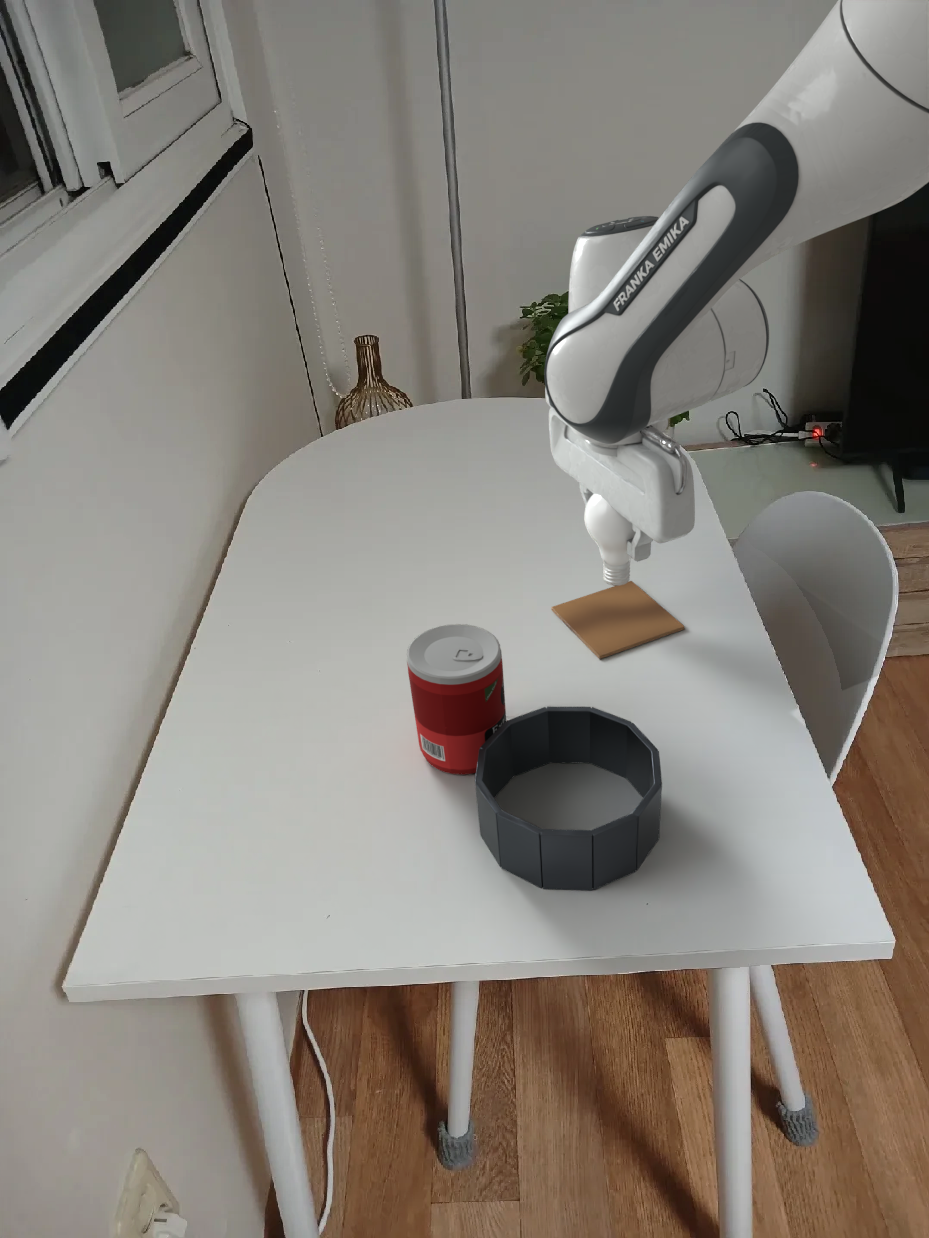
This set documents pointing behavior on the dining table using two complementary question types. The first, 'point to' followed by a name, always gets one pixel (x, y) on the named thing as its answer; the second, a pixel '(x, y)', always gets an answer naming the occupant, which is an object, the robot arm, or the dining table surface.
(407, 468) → the dining table surface
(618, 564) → the lightbulb
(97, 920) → the dining table surface
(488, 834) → the dark grey polygonal container
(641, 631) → the coaster
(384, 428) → the dining table surface
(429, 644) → the canned food
